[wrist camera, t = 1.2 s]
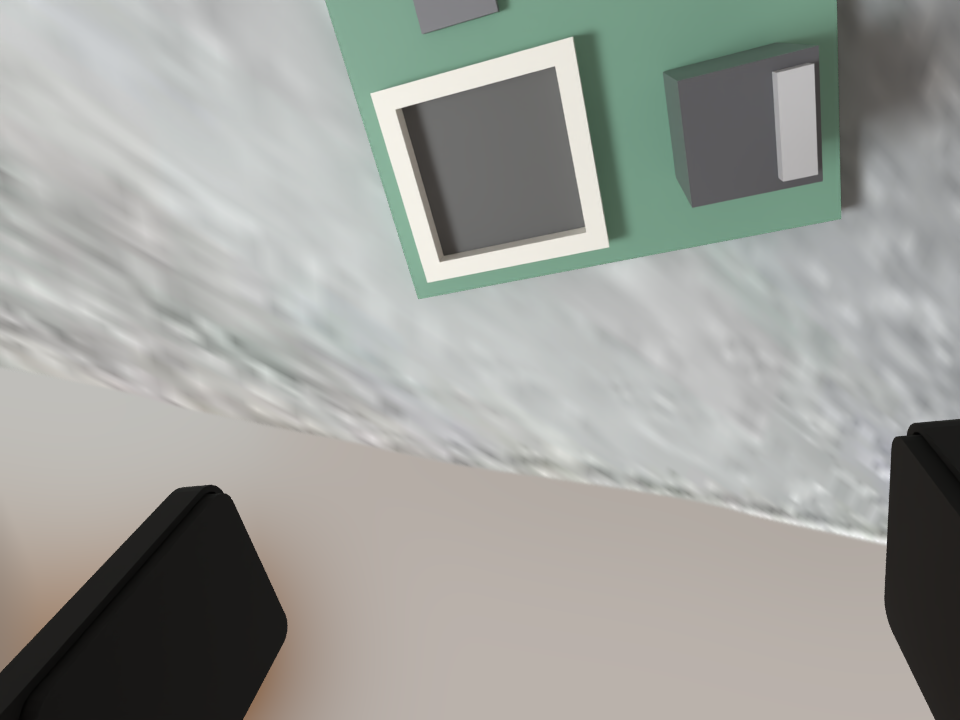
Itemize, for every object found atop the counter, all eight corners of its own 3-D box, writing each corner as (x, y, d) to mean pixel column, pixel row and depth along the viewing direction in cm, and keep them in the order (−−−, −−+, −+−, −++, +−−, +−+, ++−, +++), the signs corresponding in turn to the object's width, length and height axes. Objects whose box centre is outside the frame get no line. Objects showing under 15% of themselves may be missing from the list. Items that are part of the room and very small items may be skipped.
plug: (662, 71, 24) (679, 82, 19) (776, 42, 23) (825, 45, 18) (675, 177, 26) (694, 212, 21) (782, 154, 25) (828, 185, 20)
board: (286, -160, 24) (259, -177, 22) (816, -374, 19) (840, -418, 17) (424, 290, 31) (413, 307, 29) (831, 211, 27) (849, 225, 25)
